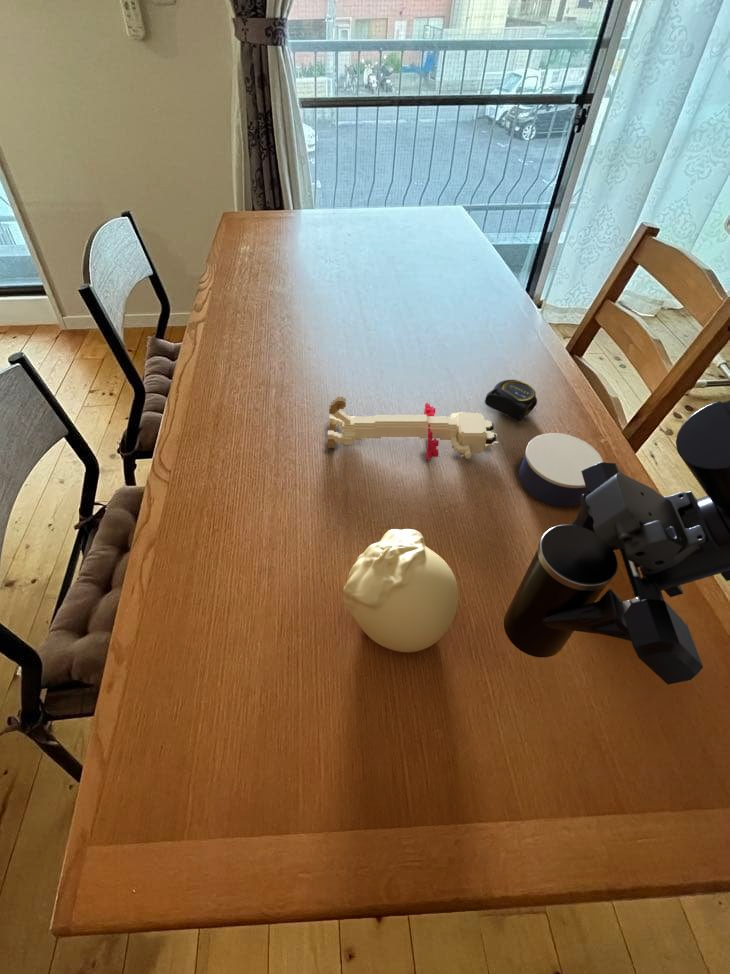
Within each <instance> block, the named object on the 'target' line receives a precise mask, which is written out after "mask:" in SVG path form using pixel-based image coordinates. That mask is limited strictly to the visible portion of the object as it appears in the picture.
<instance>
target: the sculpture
mask: <svg viewBox="0 0 730 974" xmlns="http://www.w3.org/2000/svg"><path fill="white" fill-rule="evenodd" d="M342 590H343V599H342V602H343V603H344V608H345V610H346V611H347V612H348V613H349V614H350V615H351V616H352V618H353V619H354V621H355V622H356V624H357V625H358V626H359V627H360V629H361V630H362V631H363V632H364V633H365V635H366V636H368V638H370V639H371V640H372V641H373V642H375V643H376V644H378V645H380V646H382V647H383V648H386V649H388V650H390V651H394V652H399V653H415V652H420V651H423V650H425V649H428V648H429V647H432V646H433V645H435V643H437V642H438V641H440V640H441V638H442V637H443V636H444V635H445V634H446V633H447V632H448V630H449V628H450V627H451V625H452V623H453V622H454V619H455V616H456V613H457V611H458V610H457V609H458V606H459V588H458V583H457V580H456V576H455V574H454V572H453V570H452V569H451V567H450V566H449V564H448V563H447V562H446V560H444V559H443V558H442V557H441V556H440V555H438V553H436V552H435V551H433V550H432V549H431V548H430V547H427V546H426V543H425V538H424V536H423V534H422V533H421V532H420V531H418V530H416V529H411V528H403V529H400V528H399V529H398V528H392V529H389V530H387V531H386V532H385V533H384V534H383V536H382V537H381V539H380V540H379V541H377V542H375V543H372V544H370V545H368V546H367V547H366V549H365V550H364V551H363V552H362V553H360V554H359V555H358V557H357V558H356V561H355V562H354V564H353V565H352V566H351V569H350V571H349V574H348V577H347V582H346V584H345V585H344V586H343V589H342Z"/></svg>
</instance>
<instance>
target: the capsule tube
mask: <svg viewBox="0 0 730 974" xmlns="http://www.w3.org/2000/svg"><path fill="white" fill-rule="evenodd" d="M534 553H535V554H533V555H534V556H533V557H532V559H531V561H530V563H529V566H528V568H527V570H526V571H525V574H524V576H523V578H522V580H521V581H520V584H519V586H518V588H517V590H516V592H515V594H514V596H513V598H512V600H511V603H510V604H509V606H508V609H507V610H506V613H505V615H504V616H503V617H504V618H503V629H504V632H505V634H506V636H507V638H508V640H509V642H511V644H512V645H513V646H514V647H515V648H516V649H517V650H518V651H520V652H522V653H524V654H526V655H527V656H531V657H535V658H541V659H543V658H551V657H553V656H556V655H557V654H559V653H560V652H561V651H562V649H563V648H564V647H565V645H566V644H567V642H568V641H569V639H570V638H571V637H572V636H573V634H574V633H575V631H571V630H563V629H555V628H549V627H547V626H546V625H545V624H544V623H543V619H544V618H546V617H548V616H551V615H553V614H555V613H558V612H562V611H565V610H569V609H572V608H576V607H580V606H583V605H587V604H590V603H594V602H597V600H598V598H599V596H600V595H601V594H602V592H603V591H604V590H605V588H606V587H607V586H608V585H609V584H610V583H611V581H613V579H614V577H615V576H616V574H617V572H618V567H619V566H618V565H619V564H618V557H617V555H616V553H615V550H614V551H613V549H612V547H611V546H610V545H608V544H606V543H604V542H603V541H601V540H600V539H599V538H598V536H597V535H596V533H595V532H593V531H591V530H589V529H586V528H584V527H580V526H576V525H571V524H559V525H556V526H553V527H551V528H549V529H548V530H546V531H545V532H544V533H543V535H542V536H541V538H540V540H539V542H538V545H537V549H536V552H534Z"/></svg>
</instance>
